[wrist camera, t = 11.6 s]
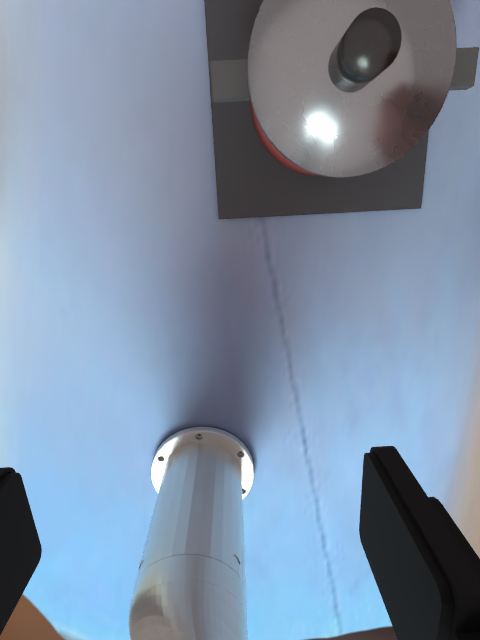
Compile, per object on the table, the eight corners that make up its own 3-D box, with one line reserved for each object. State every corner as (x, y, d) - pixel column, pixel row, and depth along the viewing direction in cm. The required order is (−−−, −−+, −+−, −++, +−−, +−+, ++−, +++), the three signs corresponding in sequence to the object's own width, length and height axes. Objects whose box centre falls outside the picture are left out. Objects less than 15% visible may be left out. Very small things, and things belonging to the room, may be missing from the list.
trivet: (418, 208, 37) (420, 208, 37) (219, 218, 37) (218, 219, 36) (441, -42, 31) (445, -46, 30) (202, -30, 31) (202, -34, 30)
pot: (420, 170, 35) (472, 162, 28) (220, 181, 35) (217, 175, 28) (435, 6, 31) (500, -56, 24) (210, 17, 31) (203, -41, 24)
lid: (433, 174, 28) (474, 169, 23) (249, 180, 28) (253, 176, 23) (462, -60, 24) (520, -125, 19) (244, -54, 24) (247, -118, 19)
